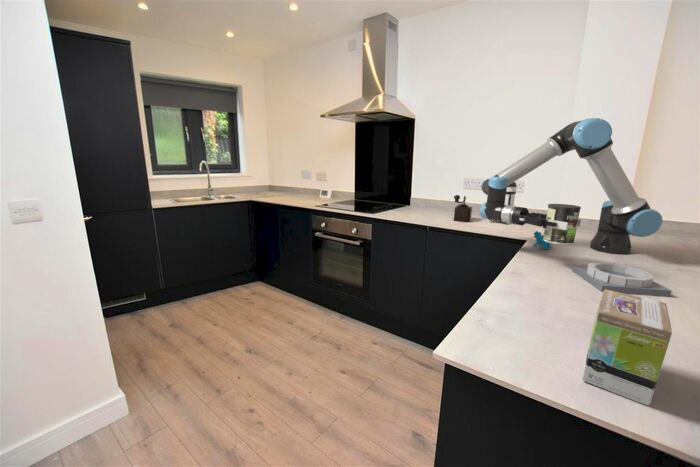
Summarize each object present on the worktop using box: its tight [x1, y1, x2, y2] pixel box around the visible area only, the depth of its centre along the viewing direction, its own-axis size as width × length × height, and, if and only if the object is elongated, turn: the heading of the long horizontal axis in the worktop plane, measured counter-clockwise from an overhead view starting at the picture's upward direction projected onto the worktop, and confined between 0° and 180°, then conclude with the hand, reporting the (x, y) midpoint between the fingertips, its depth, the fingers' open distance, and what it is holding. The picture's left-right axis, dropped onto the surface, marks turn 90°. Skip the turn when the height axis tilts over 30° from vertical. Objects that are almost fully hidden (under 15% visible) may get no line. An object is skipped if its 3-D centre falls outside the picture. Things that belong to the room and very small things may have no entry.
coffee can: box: [543, 203, 582, 246], centre depth 120 cm, size 10×10×14 cm
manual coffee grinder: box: [453, 194, 473, 223], centre depth 211 cm, size 16×11×18 cm
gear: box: [532, 230, 552, 250], centre depth 151 cm, size 11×6×10 cm
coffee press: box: [489, 181, 518, 225], centre depth 207 cm, size 17×16×30 cm
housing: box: [572, 261, 672, 298], centre depth 108 cm, size 19×19×4 cm
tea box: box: [581, 289, 673, 406], centre depth 61 cm, size 15×10×15 cm, turn 138°
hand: (574, 224), depth 116 cm, fingers closed on coffee can, 10 cm apart
